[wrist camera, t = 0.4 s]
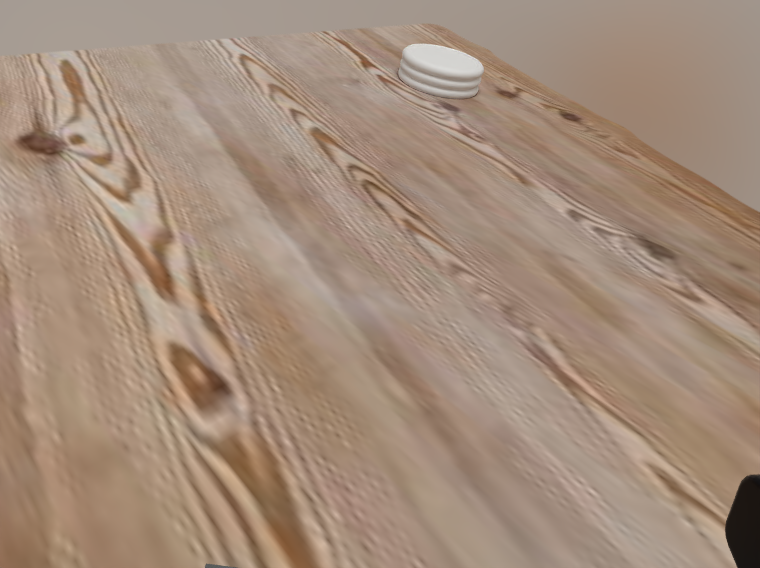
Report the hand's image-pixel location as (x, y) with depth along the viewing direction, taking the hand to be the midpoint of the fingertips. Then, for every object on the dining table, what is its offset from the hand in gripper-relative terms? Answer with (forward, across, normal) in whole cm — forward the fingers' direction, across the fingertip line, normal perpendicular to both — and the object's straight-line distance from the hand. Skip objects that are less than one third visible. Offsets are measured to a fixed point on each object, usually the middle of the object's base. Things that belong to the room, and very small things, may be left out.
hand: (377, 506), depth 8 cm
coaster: (+75, -12, +7) cm, 76 cm away
